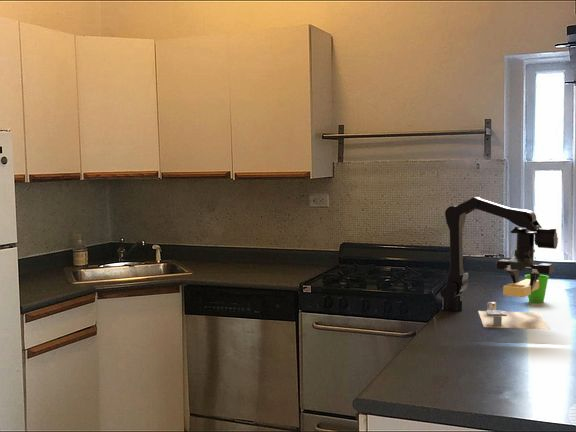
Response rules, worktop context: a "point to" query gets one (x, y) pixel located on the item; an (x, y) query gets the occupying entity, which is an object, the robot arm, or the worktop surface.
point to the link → (520, 288)
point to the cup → (538, 294)
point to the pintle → (491, 305)
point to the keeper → (496, 316)
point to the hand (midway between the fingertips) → (523, 290)
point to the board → (516, 320)
